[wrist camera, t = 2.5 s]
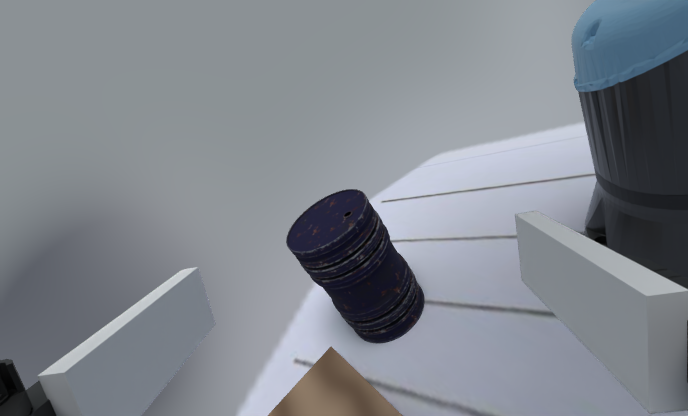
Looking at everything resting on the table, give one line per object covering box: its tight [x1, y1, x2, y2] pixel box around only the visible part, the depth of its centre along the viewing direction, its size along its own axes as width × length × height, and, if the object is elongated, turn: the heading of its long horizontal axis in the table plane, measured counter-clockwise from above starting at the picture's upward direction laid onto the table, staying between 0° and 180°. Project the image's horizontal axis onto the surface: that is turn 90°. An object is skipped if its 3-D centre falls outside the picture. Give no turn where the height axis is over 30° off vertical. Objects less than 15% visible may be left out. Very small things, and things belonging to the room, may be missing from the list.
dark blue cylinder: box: [286, 189, 424, 343], centre depth 39 cm, size 10×10×15 cm
